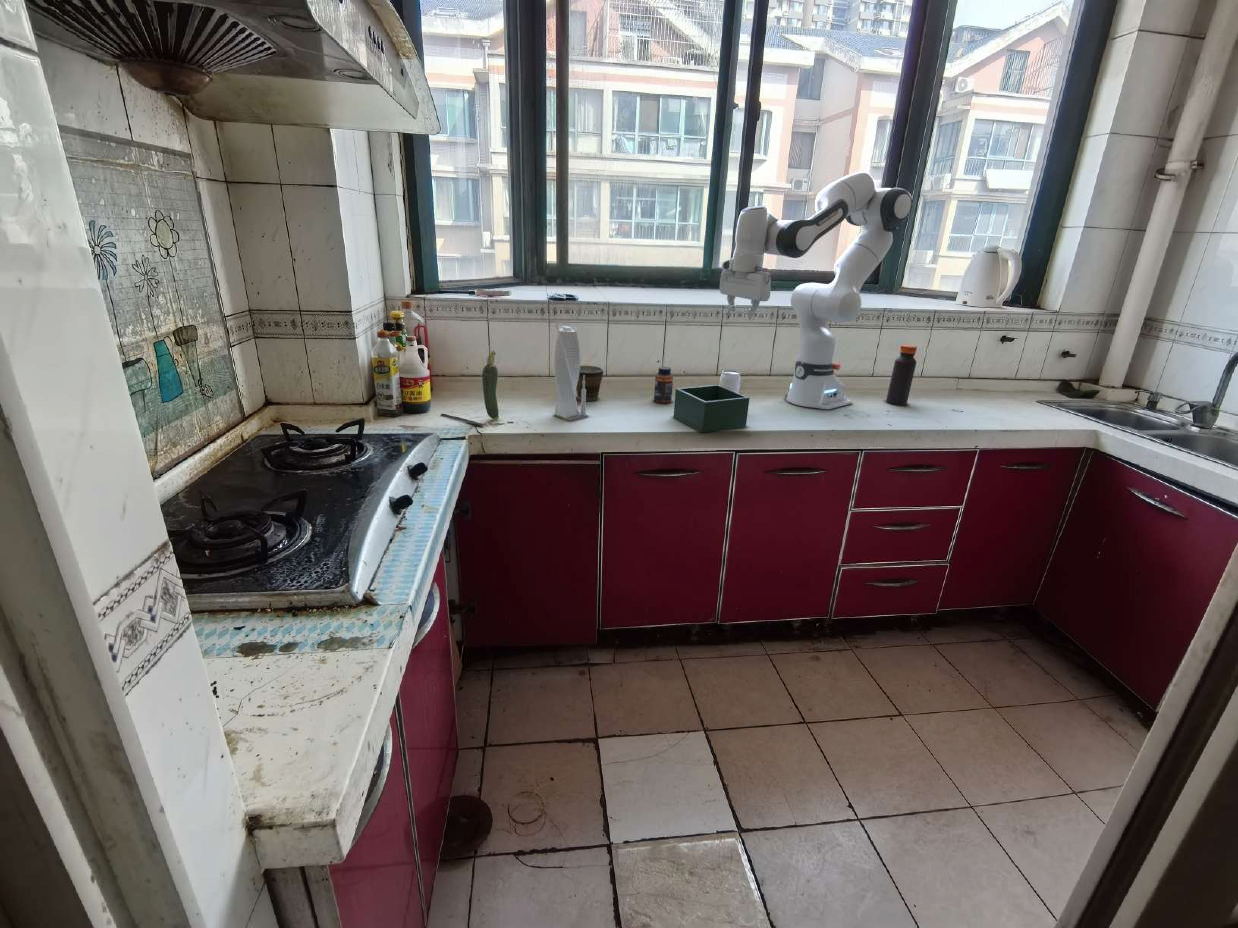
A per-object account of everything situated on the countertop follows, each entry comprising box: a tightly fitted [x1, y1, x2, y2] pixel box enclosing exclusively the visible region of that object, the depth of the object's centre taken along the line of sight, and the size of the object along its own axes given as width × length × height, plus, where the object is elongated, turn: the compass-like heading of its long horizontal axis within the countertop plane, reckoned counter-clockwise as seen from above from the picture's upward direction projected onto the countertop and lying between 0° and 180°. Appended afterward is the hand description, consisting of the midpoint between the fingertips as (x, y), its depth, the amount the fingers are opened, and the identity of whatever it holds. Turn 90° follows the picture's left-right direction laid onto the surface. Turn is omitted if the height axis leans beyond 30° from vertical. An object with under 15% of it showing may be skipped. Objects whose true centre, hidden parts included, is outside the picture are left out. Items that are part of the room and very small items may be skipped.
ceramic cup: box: [575, 365, 604, 402], centre depth 193 cm, size 13×10×10 cm
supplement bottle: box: [653, 366, 674, 404], centre depth 195 cm, size 6×6×11 cm
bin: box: [673, 384, 751, 434], centre depth 176 cm, size 16×16×9 cm
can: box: [718, 369, 742, 394], centre depth 190 cm, size 6×6×12 cm
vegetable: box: [481, 350, 500, 421], centre depth 167 cm, size 4×4×20 cm
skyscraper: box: [553, 321, 588, 422], centre depth 172 cm, size 8×8×28 cm
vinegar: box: [885, 344, 918, 406], centre depth 204 cm, size 7×7×20 cm
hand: (741, 313), depth 180 cm, fingers open, 8 cm apart
